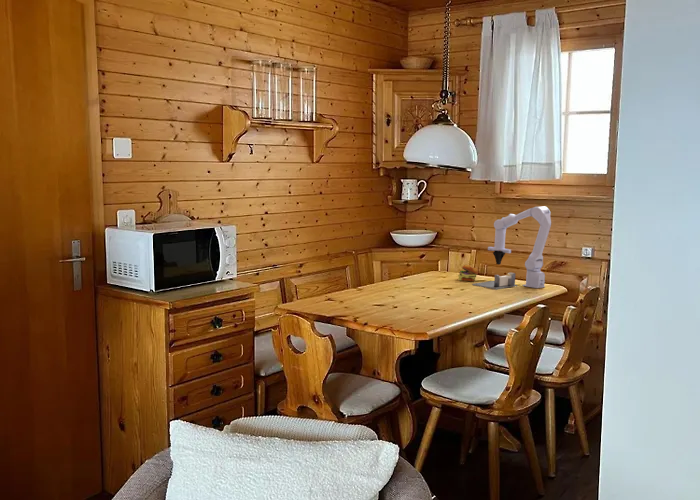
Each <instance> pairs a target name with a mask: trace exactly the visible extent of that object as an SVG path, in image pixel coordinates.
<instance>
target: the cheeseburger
mask: <svg viewBox="0 0 700 500" xmlns="http://www.w3.org/2000/svg"><path fill="white" fill-rule="evenodd" d="M461 268H462V270H460V271H459V274H458V275H457V276H458V281H460V282H461V281H466V282H474V281H476V278H477V275H478V274H479V269H478V268H476V267H472V266H471V265H470V264H464V265H463V266H462V267H461Z"/></svg>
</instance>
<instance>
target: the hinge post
mask: <svg viewBox="0 0 700 500" xmlns="http://www.w3.org/2000/svg"><path fill="white" fill-rule="evenodd" d="M499 276H500V275H499V274H494V280H493V281H494V287H499Z"/></svg>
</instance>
